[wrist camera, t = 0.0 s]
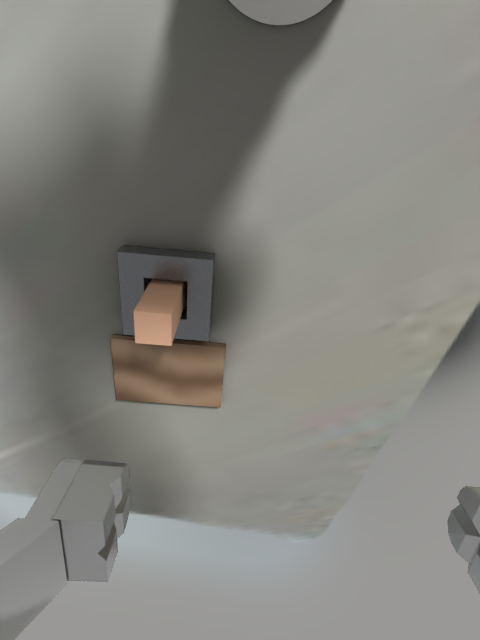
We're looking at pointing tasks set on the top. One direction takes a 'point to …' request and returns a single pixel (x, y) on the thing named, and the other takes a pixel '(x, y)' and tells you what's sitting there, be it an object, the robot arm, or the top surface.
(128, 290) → the socket
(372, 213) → the top surface
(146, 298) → the peg
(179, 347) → the board
